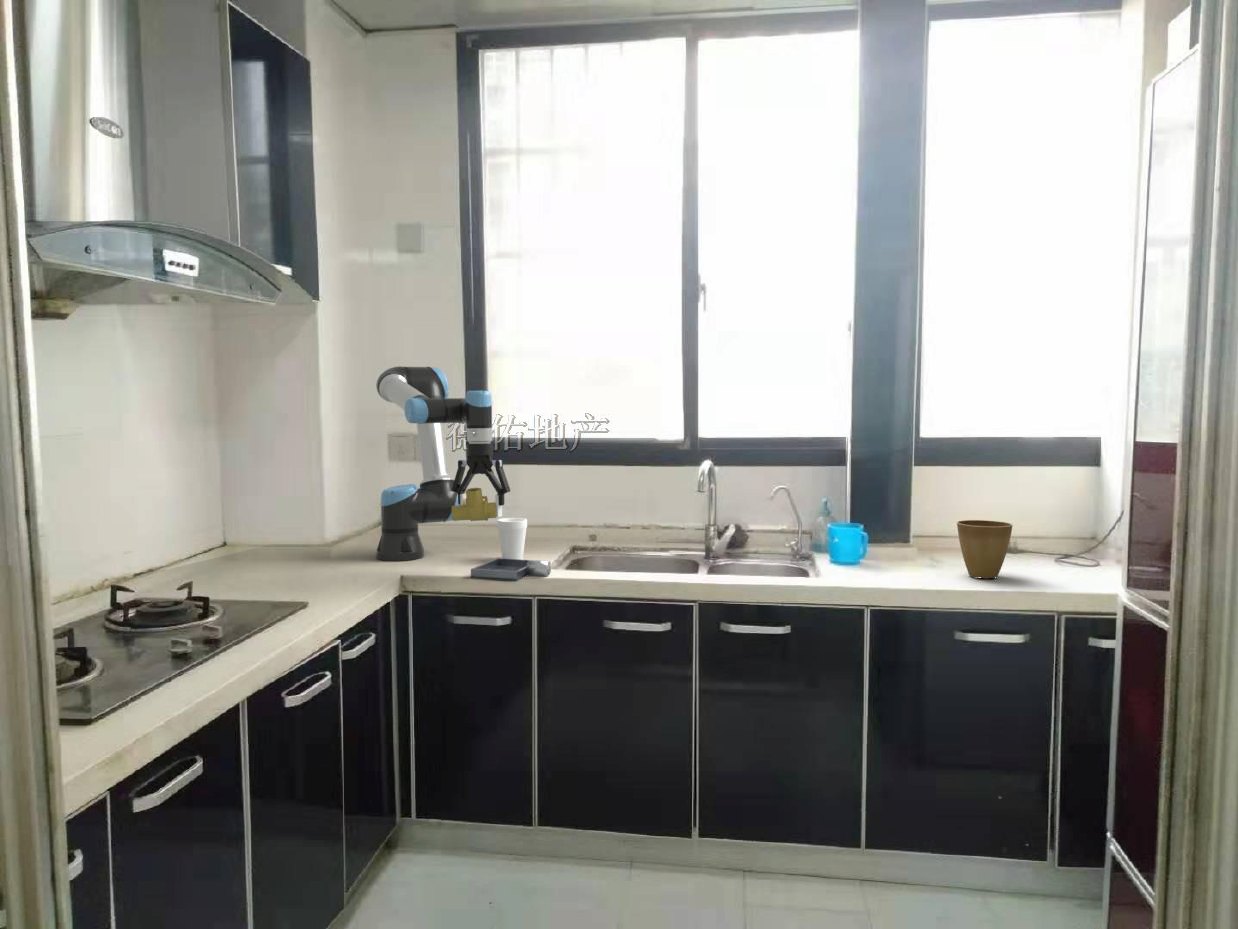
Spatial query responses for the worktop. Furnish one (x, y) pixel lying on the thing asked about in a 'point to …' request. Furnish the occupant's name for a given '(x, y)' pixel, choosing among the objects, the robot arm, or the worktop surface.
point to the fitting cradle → (511, 569)
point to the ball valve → (474, 507)
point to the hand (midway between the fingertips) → (481, 516)
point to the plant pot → (984, 546)
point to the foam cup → (512, 537)
